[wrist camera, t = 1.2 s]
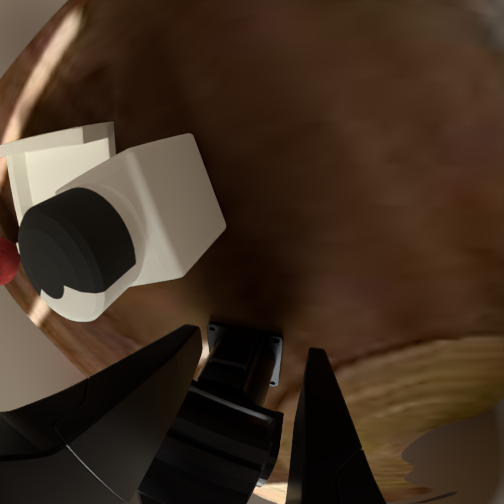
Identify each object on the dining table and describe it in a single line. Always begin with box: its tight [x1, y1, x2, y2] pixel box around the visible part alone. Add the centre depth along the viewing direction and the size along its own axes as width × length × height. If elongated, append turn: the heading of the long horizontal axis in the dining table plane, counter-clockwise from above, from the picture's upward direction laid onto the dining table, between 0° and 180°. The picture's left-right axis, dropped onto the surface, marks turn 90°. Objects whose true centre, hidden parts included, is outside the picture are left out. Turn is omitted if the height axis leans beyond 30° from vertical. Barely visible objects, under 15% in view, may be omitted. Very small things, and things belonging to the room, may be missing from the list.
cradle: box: [0, 121, 116, 254], centre depth 23 cm, size 11×13×4 cm
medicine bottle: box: [18, 133, 226, 322], centre depth 17 cm, size 7×7×12 cm
